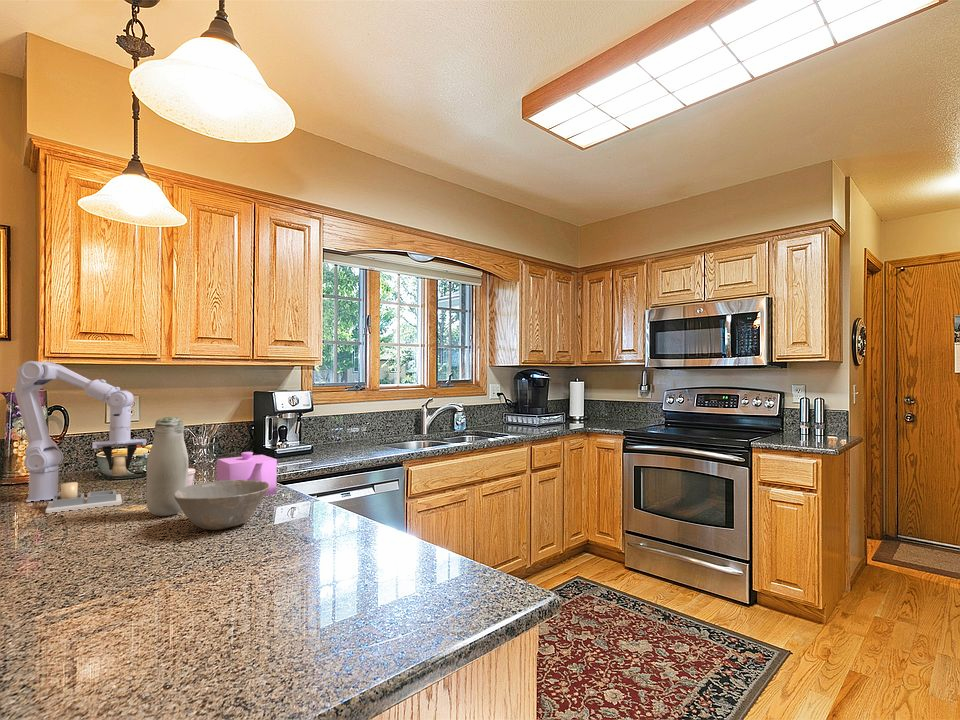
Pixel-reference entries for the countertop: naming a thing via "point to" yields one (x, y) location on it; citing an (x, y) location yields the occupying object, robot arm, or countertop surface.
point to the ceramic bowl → (221, 502)
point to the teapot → (249, 469)
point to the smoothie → (190, 476)
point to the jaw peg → (119, 465)
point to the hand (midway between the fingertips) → (119, 468)
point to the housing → (81, 499)
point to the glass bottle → (166, 467)
